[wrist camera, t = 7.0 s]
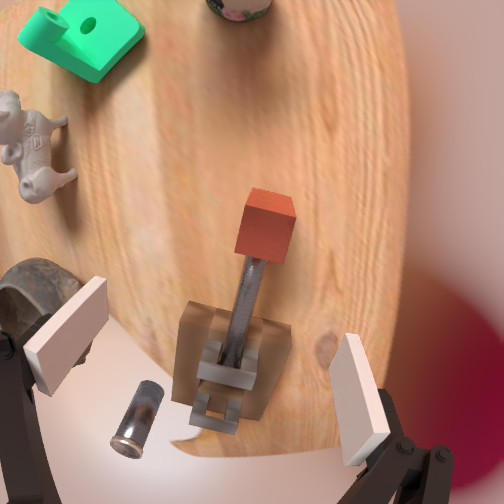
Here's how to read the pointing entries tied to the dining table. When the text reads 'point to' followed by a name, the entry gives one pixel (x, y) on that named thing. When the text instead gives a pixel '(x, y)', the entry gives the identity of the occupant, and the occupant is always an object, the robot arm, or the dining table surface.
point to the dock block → (225, 378)
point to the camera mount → (83, 36)
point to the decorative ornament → (239, 9)
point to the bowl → (35, 295)
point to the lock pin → (256, 259)
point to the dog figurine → (30, 149)
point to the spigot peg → (138, 420)
